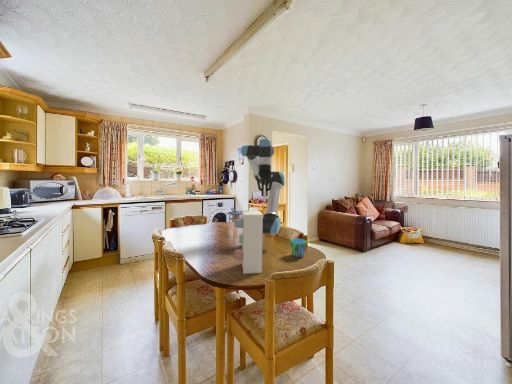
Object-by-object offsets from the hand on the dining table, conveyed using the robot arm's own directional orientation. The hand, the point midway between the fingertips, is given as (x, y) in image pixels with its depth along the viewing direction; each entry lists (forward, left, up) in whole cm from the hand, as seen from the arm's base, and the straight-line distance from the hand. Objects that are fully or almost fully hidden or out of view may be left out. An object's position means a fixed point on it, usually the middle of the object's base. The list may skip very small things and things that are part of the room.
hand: (264, 201), depth 143 cm
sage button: (+2, -22, -22) cm, 31 cm away
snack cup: (+16, +17, -37) cm, 43 cm away
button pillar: (+5, -18, -36) cm, 41 cm away
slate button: (0, -24, -13) cm, 27 cm away
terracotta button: (0, -24, -31) cm, 39 cm away
